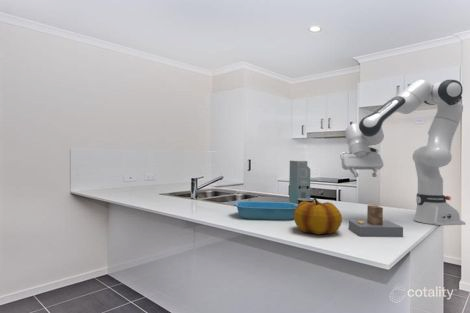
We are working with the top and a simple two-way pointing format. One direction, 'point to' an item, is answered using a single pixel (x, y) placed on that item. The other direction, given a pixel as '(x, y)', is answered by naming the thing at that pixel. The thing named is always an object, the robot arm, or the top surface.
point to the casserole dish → (266, 210)
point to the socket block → (375, 229)
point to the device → (299, 181)
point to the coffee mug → (305, 200)
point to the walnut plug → (375, 215)
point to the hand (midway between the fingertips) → (365, 176)
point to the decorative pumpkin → (317, 217)
